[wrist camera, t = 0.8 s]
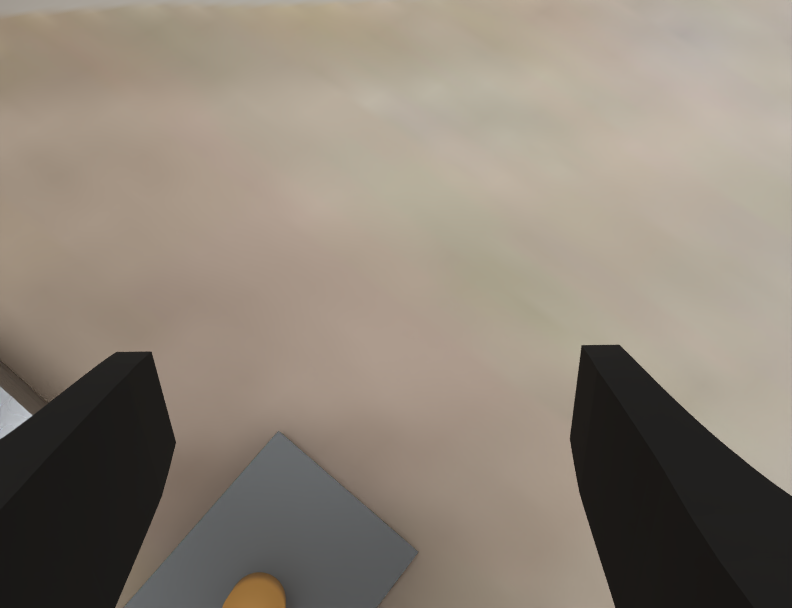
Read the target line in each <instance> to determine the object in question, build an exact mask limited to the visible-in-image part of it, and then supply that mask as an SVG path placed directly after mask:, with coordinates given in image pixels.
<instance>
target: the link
mask: <svg viewBox="0 0 792 608" xmlns="http://www.w3.org/2000/svg"><path fill="white" fill-rule="evenodd" d="M47 404H48V403H47V402H46V401H45V400H44V399H43V398H42V397H41V396H40V395H38V394H37V393H36V392H35V391H34V390H33V389H32V388H31V387H29V386H28V385H27V384H26V383H25V382H24V381H23V380H21V379H20V378H19V377H18V376H17V375H16V374H15V373H14V372H12V371H11V370H10V369H9V368H8V367H7V366H6V365H5V364H3V363H2V362H1V361H0V439H1V438H3V437H4V436H6V435H7V434H8V433H10V432H11V431H13V430H14V429H15V428H17V427H18V426H19V425H21V424H22V423H23V422H25V421H26V420H27V419H29V418H30V417H31V416H32V415H34V414H35V413H36V412H38V411H39V410H40V409H42V408H43V407H44V406H45V405H47Z"/></svg>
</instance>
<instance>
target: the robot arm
mask: <svg viewBox="0 0 792 608" xmlns="http://www.w3.org/2000/svg"><path fill="white" fill-rule="evenodd" d="M570 442H571V448H572V454H573V460H574V466H575V471H576V477H577V482H578V487H579V493H580V496H581V499H582V503H583V506H584V509H585V512H586V516H587V519H588V522H589V525H590V529H591V532H592V535H593V538H594V541H595V545H596V548H597V551H598V554H599V557H600V560H601V563H602V567H603V570H604V573H605V576H606V579H607V582H608V586H609V589H610V592H611V595H612V598H613V601H614V605H615V608H792V496H791V495H789V494H788V493H786V492H785V491H784V490H782V489H781V488H779V487H778V486H777V485H775V484H774V483H772V482H771V481H770V480H768V479H767V478H766V477H764V476H763V475H762V474H760V473H759V472H758V471H757V470H755V469H754V468H753V467H751V466H750V465H749V464H748V463H747V462H745V461H744V460H743V459H742V458H740V457H739V456H738V455H737V454H736V453H734V452H733V451H732V450H731V449H729V448H728V447H727V446H726V445H725V444H723V443H722V442H721V441H720V440H719V439H717V438H716V437H715V436H714V435H713V434H712V433H711V432H709V431H708V430H707V429H706V428H705V427H704V426H703V425H702V424H700V423H699V422H698V421H697V420H696V419H695V418H694V417H693V416H692V415H691V414H689V413H688V412H687V411H686V410H685V409H684V408H683V407H682V406H681V405H680V404H679V403H678V402H677V401H676V400H675V399H674V398H672V397H671V396H670V395H669V394H668V393H667V392H666V391H665V390H664V389H663V388H662V387H661V386H660V385H659V384H658V383H657V382H656V381H655V380H654V379H653V378H652V377H651V376H650V375H649V374H648V373H647V372H646V371H645V370H644V369H643V368H642V367H641V366H640V365H639V364H638V363H637V362H636V361H635V360H634V359H633V358H632V357H631V356H630V355H629V354H628V353H627V352H626V351H625V350H624V349H623V348H622V347H621V346H620V345H582V347H581V355H580V363H579V371H578V379H577V387H576V395H575V402H574V410H573V418H572V426H571V434H570ZM175 444H176V441H175V437H174V433H173V430H172V426H171V422H170V419H169V415H168V411H167V407H166V404H165V400H164V396H163V393H162V389H161V385H160V382H159V378H158V374H157V370H156V367H155V363H154V359H153V356H152V352H116V353H114V354H113V355H111V356H110V357H108V358H107V359H105V360H104V361H103V362H101V363H100V364H99V365H97V366H96V367H95V368H93V369H92V370H91V371H89V372H88V373H87V374H85V375H84V376H83V377H82V378H80V379H79V380H78V381H76V382H75V383H74V384H73V385H71V386H70V387H69V388H67V389H66V390H65V391H64V392H62V393H61V394H60V395H59V396H57V397H56V398H55V399H53V400H52V401H51V402H49V403H48V404H47V405H45V406H44V407H43V408H42V409H40V410H39V411H38V412H36V413H35V414H34V415H32V416H31V417H30V418H29V419H27V420H26V421H25V422H23V423H22V424H21V425H19V426H18V427H17V428H15V429H14V430H13V431H11V432H10V433H8V434H7V435H6V436H4V437H3V438H1V439H0V608H115V607H116V604H117V602H118V599H119V597H120V595H121V592H122V590H123V588H124V585H125V583H126V581H127V578H128V576H129V573H130V571H131V569H132V566H133V564H134V562H135V559H136V557H137V555H138V552H139V550H140V548H141V545H142V543H143V540H144V538H145V536H146V533H147V531H148V528H149V526H150V524H151V521H152V519H153V516H154V514H155V511H156V509H157V507H158V504H159V501H160V499H161V496H162V493H163V490H164V486H165V483H166V479H167V476H168V472H169V468H170V464H171V460H172V456H173V452H174V448H175Z"/></svg>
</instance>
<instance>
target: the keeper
mask: <svg viewBox="0 0 792 608" xmlns="http://www.w3.org/2000/svg"><path fill="white" fill-rule="evenodd" d="M417 553H418V551H417V550H416V549H414V548H413V547H412V546H411V545H410V544H409V543H408V542H406V541H405V540H404V539H403V538H402V537H401V536H399V535H398V534H397V533H396V532H395V531H394V530H393V529H391V528H390V527H389V526H388V525H387V524H386V523H384V522H383V521H382V520H381V519H380V518H379V517H378V516H376V515H375V514H374V513H373V512H372V511H371V510H369V509H368V508H367V507H366V506H365V505H364V504H363V503H361V502H360V501H359V500H358V499H357V498H356V497H354V496H353V495H352V494H351V493H350V492H349V491H348V490H346V489H345V488H344V487H343V486H342V485H341V484H339V483H338V482H337V481H336V480H335V479H334V478H333V477H331V476H330V475H329V474H328V473H327V472H326V471H324V470H323V469H322V468H321V467H320V466H319V465H318V464H316V463H315V462H314V461H313V460H312V459H311V458H309V457H308V456H307V455H306V454H305V453H304V452H303V451H301V450H300V449H299V448H298V447H297V446H296V445H294V444H293V443H292V442H291V441H290V440H289V439H288V438H286V437H285V436H284V435H283V434H282V433H281V432H279V431H278V432H277V433H276V434H275V435H274V437H273V438H272V439H271V440H270V441H269V442H268V443H267V445H266V446H265V447H264V448H263V449H262V450H261V451H260V453H259V454H258V455H257V456H256V457H255V458H254V459H253V461H252V462H251V463H250V464H249V465H248V466H247V467H246V469H245V470H244V471H243V472H242V473H241V474H240V475H239V477H238V478H237V479H236V480H235V481H234V482H233V483H232V485H231V486H230V487H229V488H228V489H227V490H226V491H225V492H224V494H223V495H222V496H221V497H220V498H219V499H218V500H217V502H216V503H215V504H214V505H213V506H212V507H211V508H210V510H209V511H208V512H207V513H206V514H205V515H204V516H203V518H202V519H201V520H200V521H199V522H198V523H197V524H196V526H195V527H194V528H193V529H192V530H191V531H190V532H189V534H188V535H187V536H186V537H185V538H184V539H183V540H182V542H181V543H180V544H179V545H178V546H177V547H176V548H175V549H174V551H173V552H172V553H171V554H170V555H169V556H168V557H167V559H166V560H165V561H164V562H163V563H162V564H161V565H160V567H159V568H158V569H157V570H156V571H155V572H154V573H153V575H152V576H151V577H150V578H149V579H148V580H147V581H146V583H145V584H144V585H143V586H142V587H141V588H140V589H139V591H138V592H137V593H136V594H135V595H134V596H133V597H132V599H131V600H130V601H129V602H128V603H127V604H126V605H125V606H124V608H377V606H378V605H379V604H380V602H381V601H382V600H383V599H384V597H385V596H386V595H387V593H388V592H389V591H390V589H391V588H392V587H393V585H394V584H395V583H396V581H397V580H398V579H399V577H400V576H401V575H402V573H403V572H404V571H405V569H406V568H407V567H408V565H409V564H410V563H411V561H412V560H413V559H414V557H415V556H416V555H417Z"/></svg>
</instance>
